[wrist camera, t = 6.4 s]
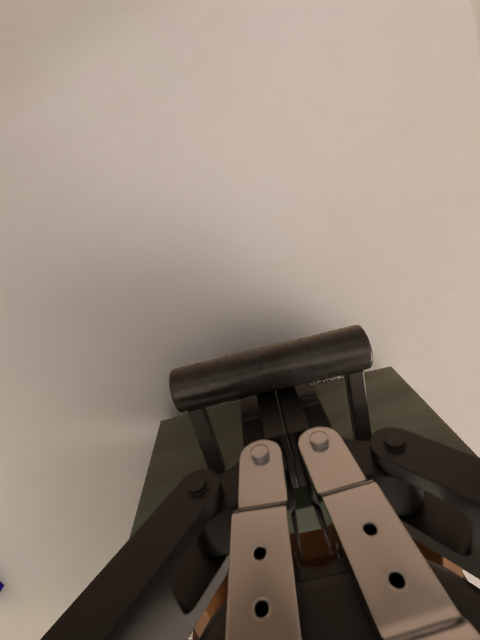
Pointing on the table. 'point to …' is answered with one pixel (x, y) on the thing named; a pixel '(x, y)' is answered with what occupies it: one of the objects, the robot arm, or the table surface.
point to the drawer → (270, 375)
